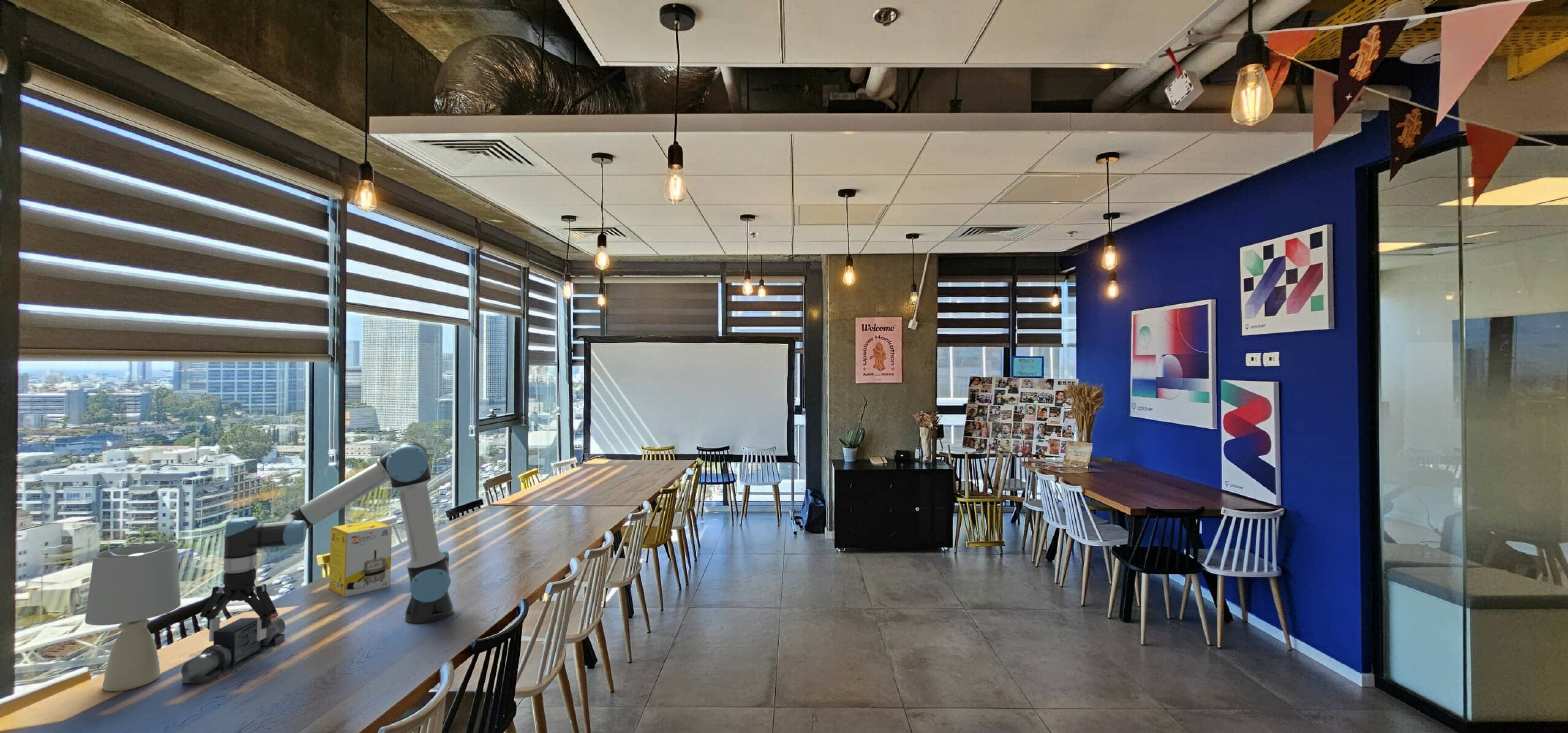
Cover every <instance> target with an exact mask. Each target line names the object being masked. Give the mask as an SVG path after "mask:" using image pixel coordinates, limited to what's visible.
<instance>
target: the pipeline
mask: <svg viewBox="0 0 1568 733" xmlns="http://www.w3.org/2000/svg"><path fill="white" fill-rule="evenodd" d="M278 616H279V612H278V611H277V612H276V613H275V614H273V615H272V616H270V617H269V626H268V627H267V628H266V638H264V639H262V640H260V646H261V650H260V651H259V652H257V653H255V654H253V655H252V656H250V657H248V658H246V659H245V660H243V661H241V662H240V663H238V664H236V665H234V666H229V664H230V662H231V653H230V651H229V649H228V648H227V647H225V646H223V645H220V644H215V645H213V644H212V645H210V646H207V647H206V648H204V649H203V650H202V651H201V653H200V655H198V656H196V657H194V658H192V659H190V660H188V661H186V662H185V663H183V665H182V667H181V671H180V672H181V676H182V677H181V679H182V681H181V684H182V683H201V684H210V683H211V681H212V680H214V681H215V680H217V679H219V678H221V677H220V676H222V674H221V673H222V672H238V671H239V670H241V669H244V668H245V667H246V666H249V665H250V664H251V663H253V662H255V661H257V660H259V659H260V658H262V657H264V656H265V655H268V654H269V653H270V652H273V651H274V650H275V647H267V646H277V645H278V644H280V643H281V642H283V641H285V633H284V632H285V629H286V623H285V621H284V620H283V619H282V618H280V617H278ZM218 677H219V678H218ZM209 682H210V683H209ZM212 682H213V681H212Z"/></svg>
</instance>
